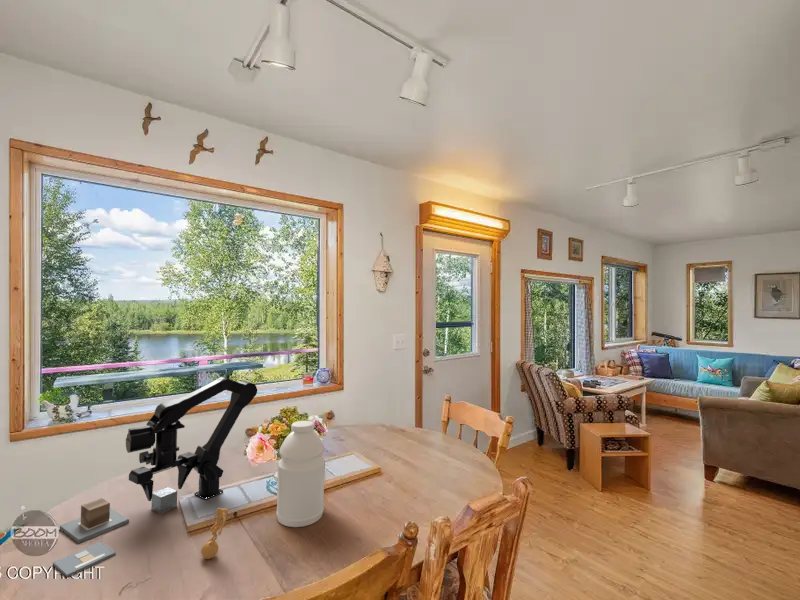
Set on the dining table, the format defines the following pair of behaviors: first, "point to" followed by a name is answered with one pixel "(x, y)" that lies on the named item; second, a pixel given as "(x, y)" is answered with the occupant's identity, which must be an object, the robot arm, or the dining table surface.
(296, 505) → the bottle
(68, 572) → the board
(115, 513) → the base plate
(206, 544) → the figurine
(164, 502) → the metal cube
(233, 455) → the dining table surface
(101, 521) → the walnut cube
